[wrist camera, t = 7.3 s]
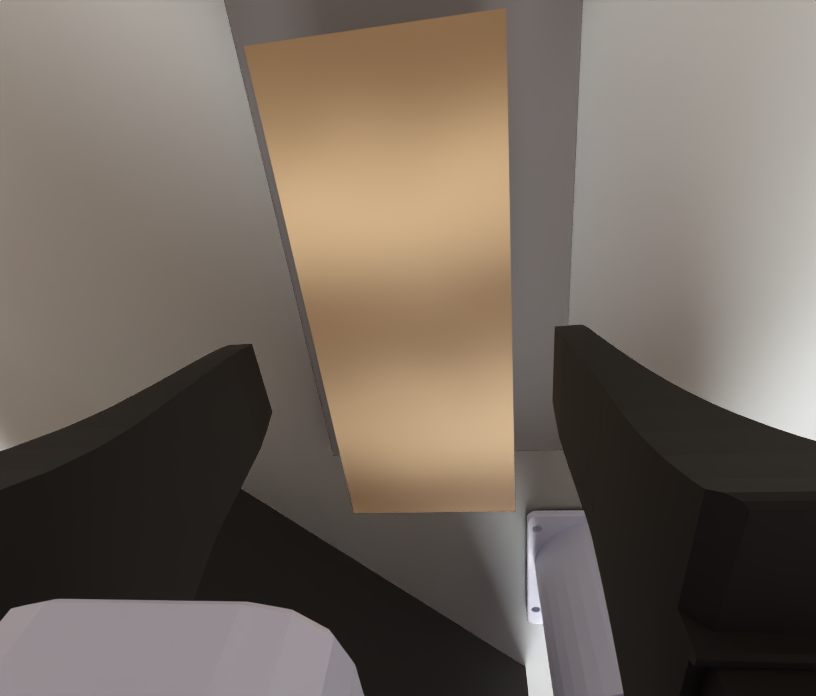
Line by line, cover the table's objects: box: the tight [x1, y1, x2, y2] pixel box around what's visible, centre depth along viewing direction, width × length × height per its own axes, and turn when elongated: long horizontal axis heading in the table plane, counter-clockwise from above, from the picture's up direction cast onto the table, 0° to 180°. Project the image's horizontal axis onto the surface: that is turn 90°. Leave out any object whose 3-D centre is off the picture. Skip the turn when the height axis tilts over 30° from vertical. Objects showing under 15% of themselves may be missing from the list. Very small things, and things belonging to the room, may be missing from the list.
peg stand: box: [224, 0, 583, 456], centre depth 19 cm, size 20×11×4 cm, turn 6°
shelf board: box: [244, 8, 515, 513], centre depth 15 cm, size 14×6×4 cm, turn 7°
